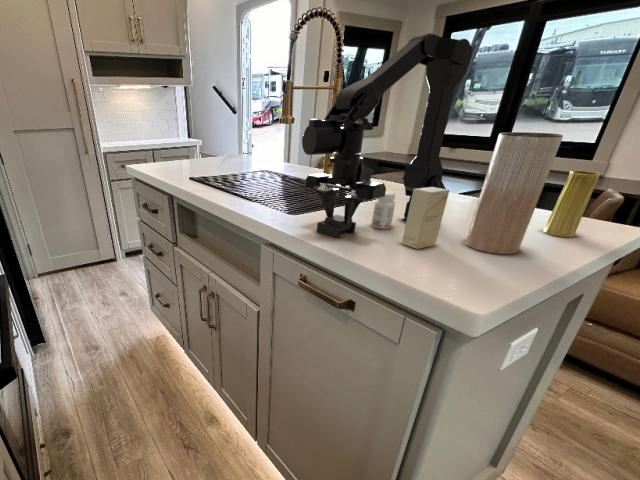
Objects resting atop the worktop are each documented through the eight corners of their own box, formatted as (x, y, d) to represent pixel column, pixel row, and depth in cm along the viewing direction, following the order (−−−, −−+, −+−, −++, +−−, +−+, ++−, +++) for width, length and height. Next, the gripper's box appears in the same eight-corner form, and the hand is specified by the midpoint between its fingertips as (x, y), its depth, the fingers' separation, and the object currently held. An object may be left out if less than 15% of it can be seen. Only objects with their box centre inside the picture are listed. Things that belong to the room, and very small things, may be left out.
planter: (507, 241, 82) (547, 132, 72) (526, 256, 74) (575, 136, 63) (459, 237, 85) (491, 131, 74) (472, 252, 76) (511, 135, 65)
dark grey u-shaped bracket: (354, 232, 88) (356, 222, 87) (337, 238, 84) (338, 227, 83) (334, 226, 93) (335, 217, 91) (316, 232, 89) (317, 222, 87)
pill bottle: (387, 224, 95) (394, 191, 91) (392, 229, 90) (399, 195, 86) (369, 223, 95) (374, 191, 91) (373, 228, 91) (379, 195, 87)
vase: (570, 231, 89) (597, 171, 82) (578, 239, 84) (608, 175, 77) (540, 228, 91) (564, 169, 84) (546, 235, 86) (572, 173, 79)
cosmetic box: (416, 249, 78) (430, 192, 72) (400, 243, 81) (412, 188, 75) (436, 245, 80) (451, 189, 74) (419, 239, 84) (432, 185, 78)
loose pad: (351, 228, 87) (352, 218, 86) (339, 232, 85) (340, 221, 84) (335, 224, 90) (336, 214, 89) (323, 227, 88) (325, 217, 87)
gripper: (405, 154, 78) (391, 224, 85) (335, 147, 90) (328, 209, 98) (377, 158, 71) (364, 233, 79) (306, 150, 84) (300, 216, 92)
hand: (338, 222), depth 87 cm, fingers closed on loose pad, 4 cm apart
